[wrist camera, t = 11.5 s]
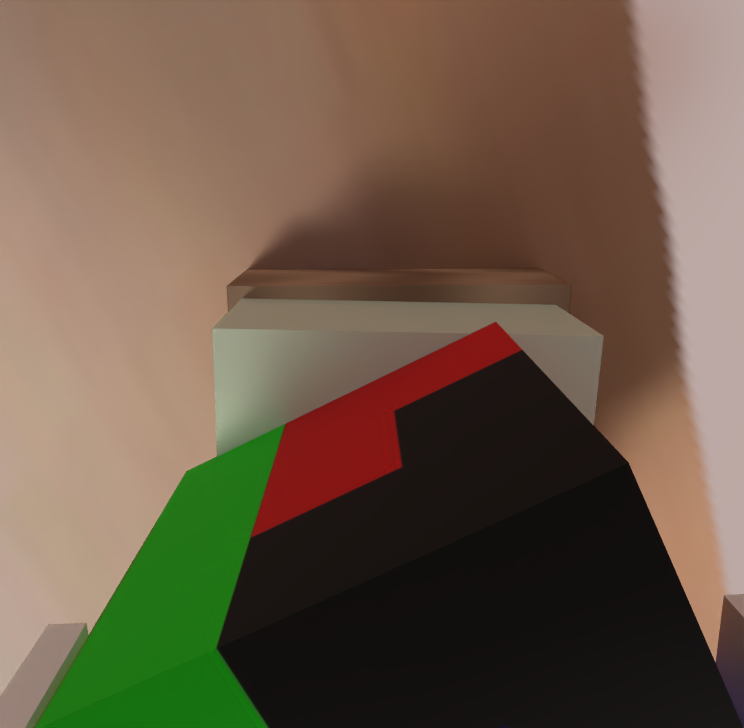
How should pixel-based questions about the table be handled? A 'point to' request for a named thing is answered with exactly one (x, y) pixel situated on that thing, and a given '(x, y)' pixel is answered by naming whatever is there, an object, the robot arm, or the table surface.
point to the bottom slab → (403, 286)
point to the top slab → (370, 353)
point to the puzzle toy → (405, 574)
